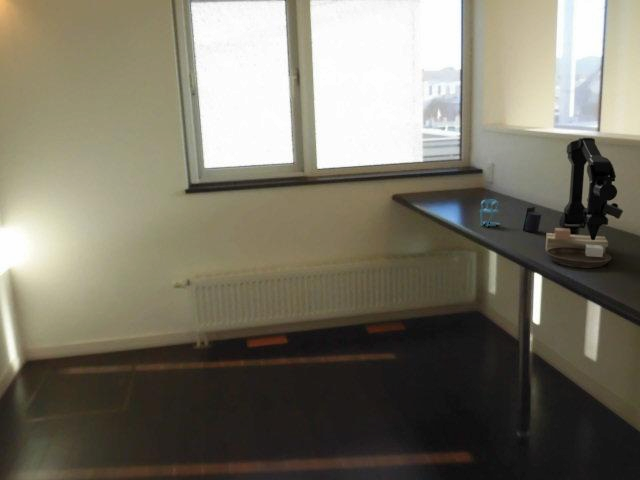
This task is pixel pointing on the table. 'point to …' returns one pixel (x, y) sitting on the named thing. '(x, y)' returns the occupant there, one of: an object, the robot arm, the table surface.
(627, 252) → the table surface
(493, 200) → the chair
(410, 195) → the table surface
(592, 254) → the light grey block
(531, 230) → the speaker
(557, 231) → the tan clay block
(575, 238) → the beige elongated piece
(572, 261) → the plant saucer
